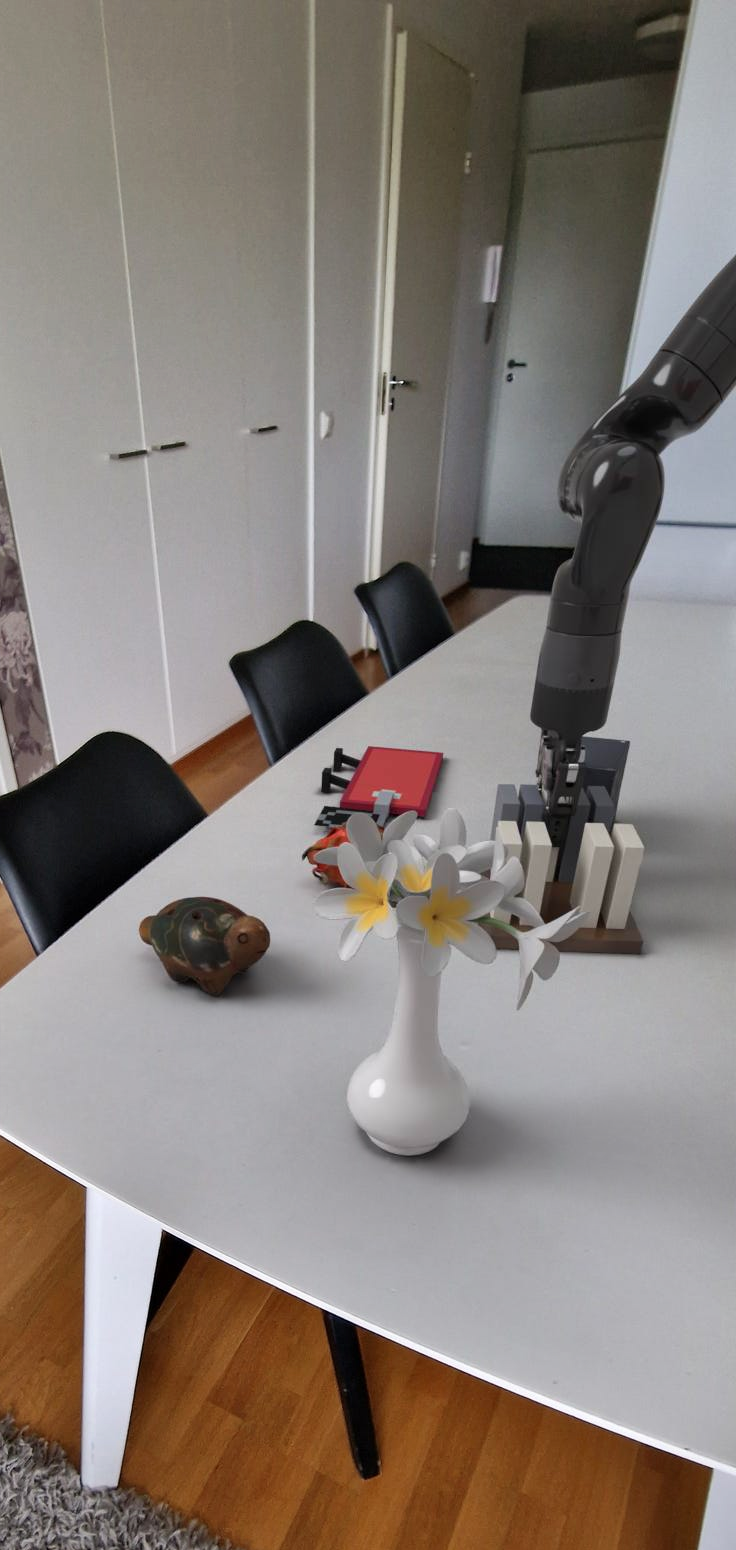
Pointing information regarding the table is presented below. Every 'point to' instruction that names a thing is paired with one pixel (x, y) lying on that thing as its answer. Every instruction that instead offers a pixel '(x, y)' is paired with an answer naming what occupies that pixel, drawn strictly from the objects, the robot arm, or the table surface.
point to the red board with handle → (381, 784)
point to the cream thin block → (554, 849)
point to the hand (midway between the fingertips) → (547, 833)
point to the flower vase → (426, 960)
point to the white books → (579, 870)
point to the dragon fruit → (331, 840)
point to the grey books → (530, 808)
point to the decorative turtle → (205, 940)
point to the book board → (580, 940)
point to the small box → (605, 766)
